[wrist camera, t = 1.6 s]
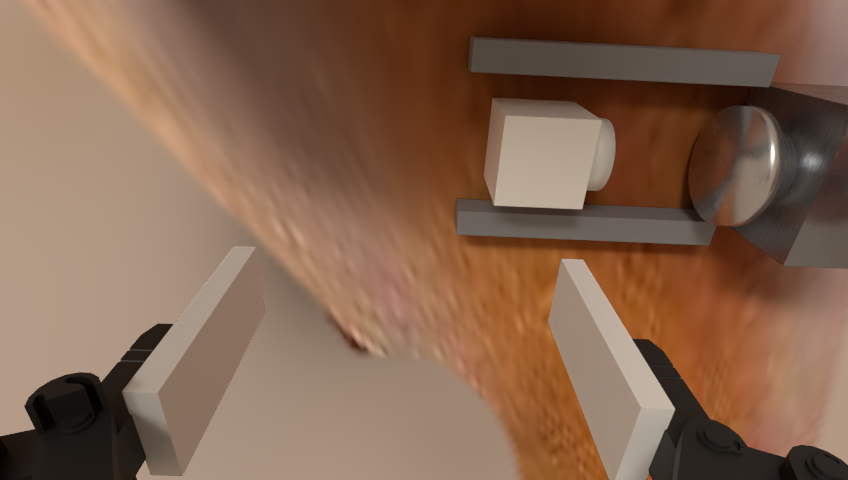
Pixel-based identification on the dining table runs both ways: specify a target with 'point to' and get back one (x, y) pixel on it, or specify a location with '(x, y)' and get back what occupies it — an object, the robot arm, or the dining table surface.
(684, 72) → the guide rails
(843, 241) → the button station
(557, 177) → the cube with cylindrical stub
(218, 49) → the dining table surface
